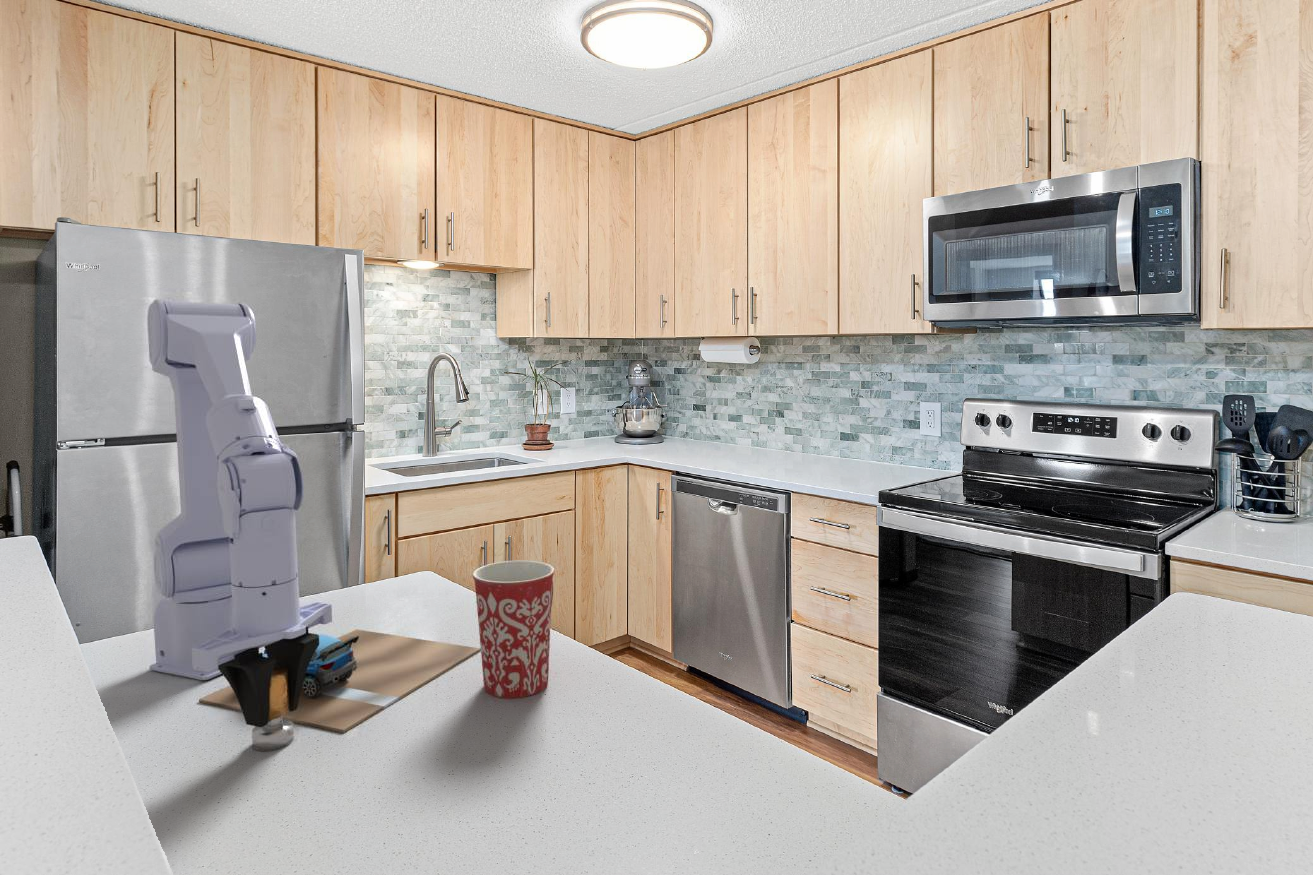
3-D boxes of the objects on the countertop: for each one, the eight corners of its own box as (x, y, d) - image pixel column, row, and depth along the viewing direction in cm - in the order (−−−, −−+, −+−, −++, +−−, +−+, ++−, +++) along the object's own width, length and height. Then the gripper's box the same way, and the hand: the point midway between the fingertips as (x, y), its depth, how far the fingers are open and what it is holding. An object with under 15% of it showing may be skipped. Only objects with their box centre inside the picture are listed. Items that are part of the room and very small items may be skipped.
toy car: (278, 669, 94) (276, 623, 94) (364, 680, 91) (362, 632, 90) (239, 688, 88) (236, 639, 88) (329, 701, 85) (326, 650, 84)
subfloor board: (199, 701, 86) (198, 699, 86) (356, 631, 108) (356, 629, 108) (343, 732, 79) (343, 729, 79) (480, 650, 101) (480, 648, 101)
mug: (530, 708, 84) (528, 584, 83) (459, 695, 88) (456, 576, 86) (584, 665, 96) (583, 557, 95) (519, 655, 99) (517, 550, 98)
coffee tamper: (244, 750, 75) (241, 679, 74) (266, 732, 79) (263, 664, 78) (280, 752, 75) (277, 681, 74) (301, 734, 78) (298, 666, 78)
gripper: (230, 605, 67) (238, 758, 68) (353, 564, 80) (358, 693, 82) (171, 597, 69) (180, 744, 71) (300, 558, 83) (305, 683, 84)
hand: (272, 716), depth 76 cm, fingers closed on coffee tamper, 3 cm apart
